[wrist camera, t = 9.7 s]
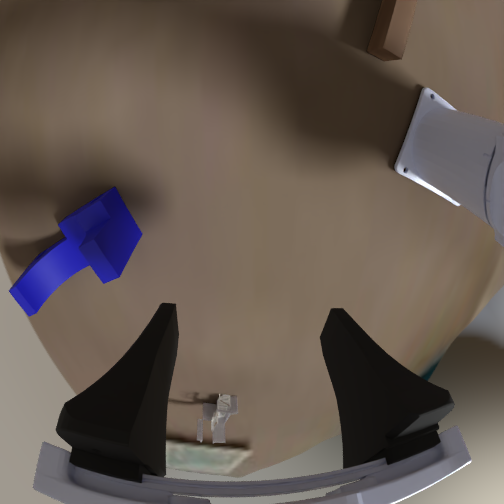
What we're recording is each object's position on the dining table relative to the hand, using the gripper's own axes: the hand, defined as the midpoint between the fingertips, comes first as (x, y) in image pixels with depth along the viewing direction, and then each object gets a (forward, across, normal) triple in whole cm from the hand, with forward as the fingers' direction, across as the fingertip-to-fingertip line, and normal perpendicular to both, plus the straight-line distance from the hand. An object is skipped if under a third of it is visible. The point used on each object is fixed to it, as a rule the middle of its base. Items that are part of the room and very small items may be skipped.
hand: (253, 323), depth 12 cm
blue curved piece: (+11, +14, +2) cm, 18 cm away
